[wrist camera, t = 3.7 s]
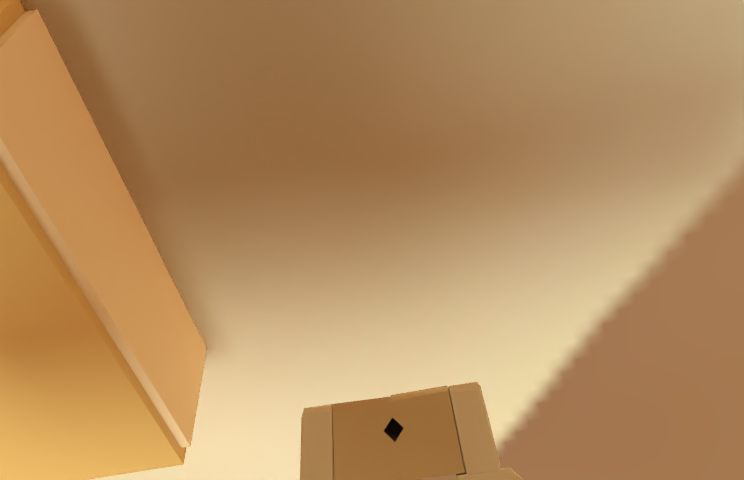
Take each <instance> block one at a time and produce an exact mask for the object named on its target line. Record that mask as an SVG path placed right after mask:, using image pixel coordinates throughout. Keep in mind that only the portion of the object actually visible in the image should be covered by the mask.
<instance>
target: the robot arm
mask: <svg viewBox="0 0 744 480" xmlns="http://www.w3.org/2000/svg"><path fill="white" fill-rule="evenodd" d="M300 480H523V479H522V478H521V477H520V476H518V475H517V474H516V473H515V472H514V471H513V470H512V469H511V468H502V469H501V466H500V462H499V458H498V454H497V450H496V446H495V442H494V438H493V434H492V430H491V426H490V422H489V418H488V414H487V410H486V407H485V403H484V399H483V395H482V391H481V387H480V385H479V384H478V382H471V383H465V384H459V385H453V386H449V387H447V386H442V387H436V388H430V389H424V390H419V391H413V392H407V393H401V394H395V395H391V397H383V398H375V399H368V400H360V401H353V402H345V403H338V404H330V405H323V406H316V407H310V408H304V411H303V415H302V423H301V463H300Z"/></svg>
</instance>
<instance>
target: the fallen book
mask: <svg viewBox="0 0 744 480" xmlns="http://www.w3.org/2000/svg"><path fill="white" fill-rule="evenodd" d="M206 350H207V348H206V346H205V344H204V342H203V340H202V338H201V336H200V334H199V332H198V330H197V328H196V326H195V324H194V322H193V320H192V318H191V316H190V314H189V312H188V310H187V308H186V306H185V304H184V302H183V300H182V298H181V296H180V294H179V292H178V290H177V288H176V286H175V284H174V282H173V280H172V278H171V276H170V274H169V272H168V270H167V268H166V266H165V264H164V262H163V260H162V258H161V256H160V254H159V252H158V250H157V248H156V246H155V244H154V242H153V240H152V238H151V236H150V234H149V232H148V230H147V228H146V226H145V224H144V222H143V220H142V218H141V216H140V214H139V212H138V210H137V208H136V206H135V204H134V202H133V200H132V198H131V196H130V194H129V192H128V190H127V188H126V186H125V184H124V182H123V180H122V178H121V176H120V174H119V172H118V170H117V168H116V166H115V164H114V162H113V160H112V158H111V156H110V154H109V152H108V150H107V148H106V146H105V144H104V142H103V140H102V138H101V136H100V134H99V132H98V130H97V128H96V126H95V124H94V122H93V120H92V118H91V116H90V114H89V112H88V110H87V108H86V106H85V104H84V102H83V100H82V98H81V96H80V94H79V92H78V90H77V88H76V86H75V84H74V82H73V80H72V78H71V76H70V74H69V72H68V70H67V68H66V66H65V64H64V62H63V60H62V58H61V56H60V54H59V52H58V50H57V48H56V46H55V44H54V42H53V40H52V38H51V36H50V34H49V32H48V30H47V28H46V26H45V24H44V22H43V20H42V18H41V16H40V14H39V12H38V10H37V9H36V10H31V11H25V10H24V8H23V6H22V4H21V2H20V0H0V480H88V479H94V478H101V477H107V476H113V475H119V474H126V473H132V472H138V471H145V470H151V469H157V468H163V467H170V466H176V465H182V464H184V458H185V452H186V447H189V446H191V440H192V434H193V428H194V422H195V416H196V410H197V404H198V398H199V392H200V386H201V380H202V374H203V368H204V362H205V356H206Z"/></svg>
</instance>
